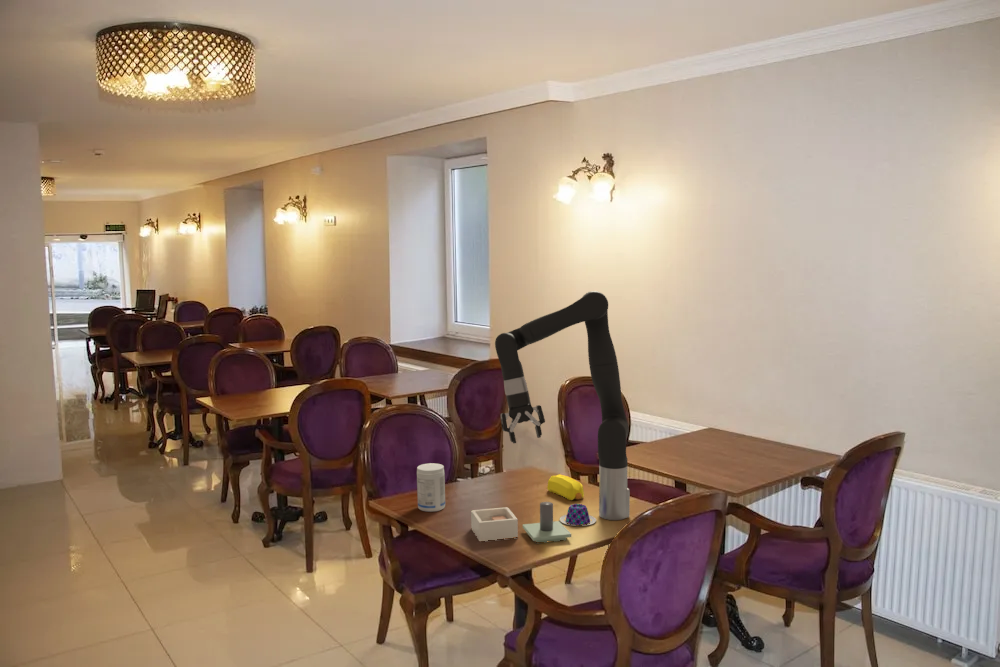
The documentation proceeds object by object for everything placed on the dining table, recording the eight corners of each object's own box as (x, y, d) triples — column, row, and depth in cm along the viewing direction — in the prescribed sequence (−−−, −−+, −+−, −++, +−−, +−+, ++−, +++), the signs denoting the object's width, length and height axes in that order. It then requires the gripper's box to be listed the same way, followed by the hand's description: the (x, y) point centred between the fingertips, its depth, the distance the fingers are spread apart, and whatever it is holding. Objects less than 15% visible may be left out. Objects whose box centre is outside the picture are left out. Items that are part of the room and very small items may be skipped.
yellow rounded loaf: (559, 487, 289) (542, 491, 285) (559, 470, 288) (542, 473, 284) (589, 500, 273) (571, 503, 269) (589, 481, 273) (571, 485, 269)
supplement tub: (435, 502, 272) (434, 461, 271) (450, 508, 265) (450, 466, 263) (412, 507, 266) (411, 466, 265) (427, 514, 259) (426, 471, 257)
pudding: (557, 516, 257) (557, 500, 256) (592, 515, 257) (592, 500, 257) (562, 528, 245) (562, 512, 244) (599, 527, 245) (599, 511, 245)
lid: (558, 528, 244) (558, 496, 243) (571, 541, 233) (571, 508, 232) (522, 532, 242) (522, 499, 241) (533, 545, 230) (533, 511, 229)
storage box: (507, 525, 247) (507, 507, 247) (517, 538, 236) (517, 519, 235) (471, 528, 245) (471, 510, 244) (479, 541, 233) (479, 522, 232)
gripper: (498, 396, 248) (509, 445, 248) (540, 387, 252) (550, 436, 251) (493, 396, 256) (503, 444, 255) (534, 388, 259) (544, 435, 258)
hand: (526, 440), depth 253 cm, fingers open, 8 cm apart
